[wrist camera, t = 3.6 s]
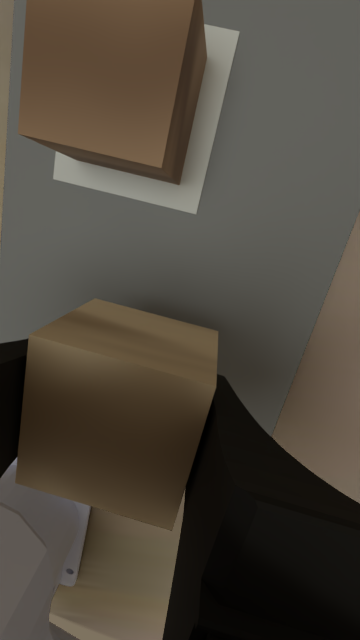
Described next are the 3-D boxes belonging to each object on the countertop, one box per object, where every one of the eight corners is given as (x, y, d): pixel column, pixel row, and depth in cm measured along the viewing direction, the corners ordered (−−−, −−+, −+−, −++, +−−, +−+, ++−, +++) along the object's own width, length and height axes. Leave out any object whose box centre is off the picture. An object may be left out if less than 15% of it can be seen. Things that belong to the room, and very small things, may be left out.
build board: (255, 461, 17) (257, 474, 17) (2, 388, 18) (-9, 396, 17) (424, 22, 11) (440, 5, 10) (31, -58, 12) (16, -80, 11)
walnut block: (179, 185, 13) (161, 168, 9) (76, 160, 13) (18, 133, 9) (207, 57, 12) (199, -26, 8) (92, 32, 12) (30, -60, 8)
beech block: (187, 436, 12) (171, 530, 8) (78, 405, 12) (14, 483, 9) (218, 331, 11) (216, 386, 7) (94, 298, 11) (29, 334, 7)
